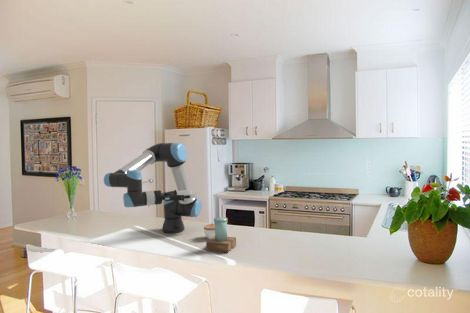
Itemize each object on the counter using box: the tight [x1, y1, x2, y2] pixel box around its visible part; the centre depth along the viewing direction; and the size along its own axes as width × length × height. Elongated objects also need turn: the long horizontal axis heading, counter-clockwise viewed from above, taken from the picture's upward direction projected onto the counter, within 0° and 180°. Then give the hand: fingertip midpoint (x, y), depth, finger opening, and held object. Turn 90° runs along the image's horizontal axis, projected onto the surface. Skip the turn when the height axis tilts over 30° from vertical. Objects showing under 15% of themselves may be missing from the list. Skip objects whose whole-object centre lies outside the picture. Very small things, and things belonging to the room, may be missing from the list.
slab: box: [205, 236, 237, 253], centre depth 198 cm, size 13×13×5 cm
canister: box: [213, 216, 228, 242], centre depth 197 cm, size 8×8×12 cm
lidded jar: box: [203, 223, 215, 240], centre depth 218 cm, size 11×11×9 cm
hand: (191, 194), depth 195 cm, fingers open, 13 cm apart
